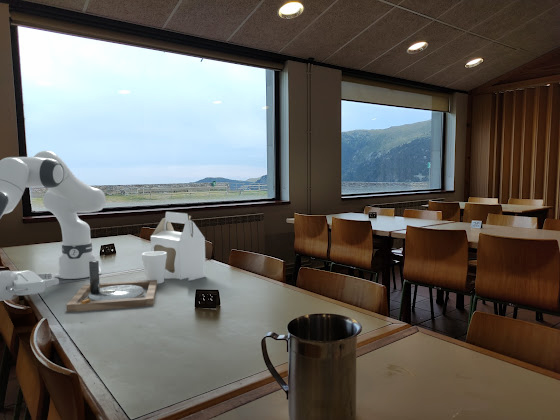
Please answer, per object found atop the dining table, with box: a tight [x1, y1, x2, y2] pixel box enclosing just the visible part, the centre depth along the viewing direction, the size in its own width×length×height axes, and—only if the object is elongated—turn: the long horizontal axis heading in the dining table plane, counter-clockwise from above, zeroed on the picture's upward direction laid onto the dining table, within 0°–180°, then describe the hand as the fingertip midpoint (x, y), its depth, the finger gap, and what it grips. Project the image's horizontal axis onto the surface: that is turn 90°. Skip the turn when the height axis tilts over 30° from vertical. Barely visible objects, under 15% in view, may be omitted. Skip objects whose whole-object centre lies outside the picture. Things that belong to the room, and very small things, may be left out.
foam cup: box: [141, 251, 167, 285], centre depth 165 cm, size 10×9×13 cm
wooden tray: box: [65, 279, 158, 313], centre depth 144 cm, size 26×26×4 cm
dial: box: [87, 260, 145, 301], centre depth 143 cm, size 18×18×13 cm
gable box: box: [150, 211, 207, 281], centre depth 180 cm, size 22×13×28 cm, turn 49°
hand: (54, 278), depth 134 cm, fingers open, 8 cm apart
